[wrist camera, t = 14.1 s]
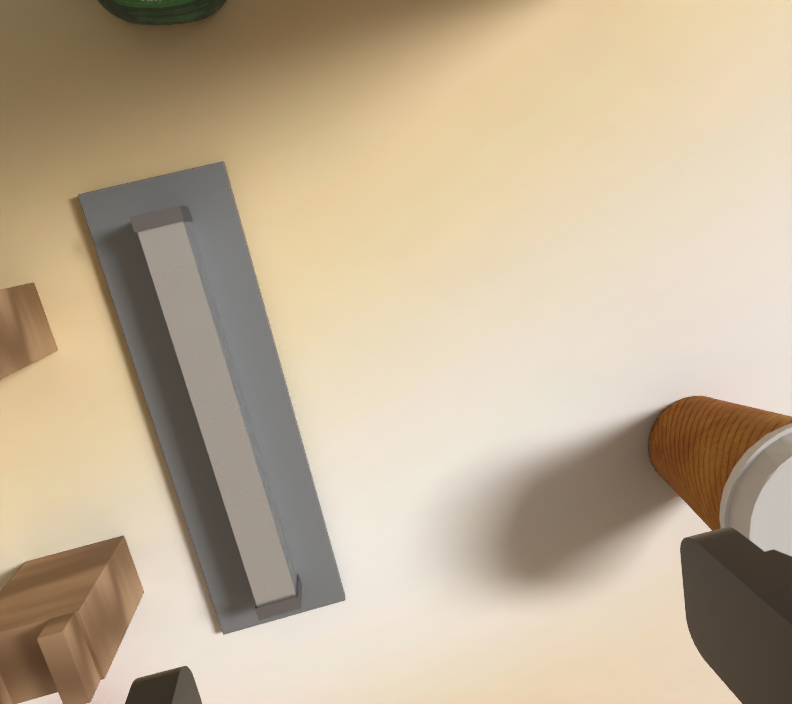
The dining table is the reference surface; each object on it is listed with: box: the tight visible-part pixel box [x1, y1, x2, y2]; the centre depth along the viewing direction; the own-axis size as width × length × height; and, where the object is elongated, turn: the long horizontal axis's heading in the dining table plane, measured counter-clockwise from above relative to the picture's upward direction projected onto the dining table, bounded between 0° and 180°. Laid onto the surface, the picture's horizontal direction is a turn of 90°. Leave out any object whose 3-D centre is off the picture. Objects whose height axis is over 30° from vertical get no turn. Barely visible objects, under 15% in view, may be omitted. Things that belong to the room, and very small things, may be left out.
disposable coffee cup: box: [649, 396, 792, 556], centre depth 38 cm, size 10×10×12 cm
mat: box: [78, 162, 345, 635], centre depth 39 cm, size 28×8×1 cm, turn 13°
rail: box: [130, 205, 302, 620], centre depth 38 cm, size 24×3×3 cm, turn 13°
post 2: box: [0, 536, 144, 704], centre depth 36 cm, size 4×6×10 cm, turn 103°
